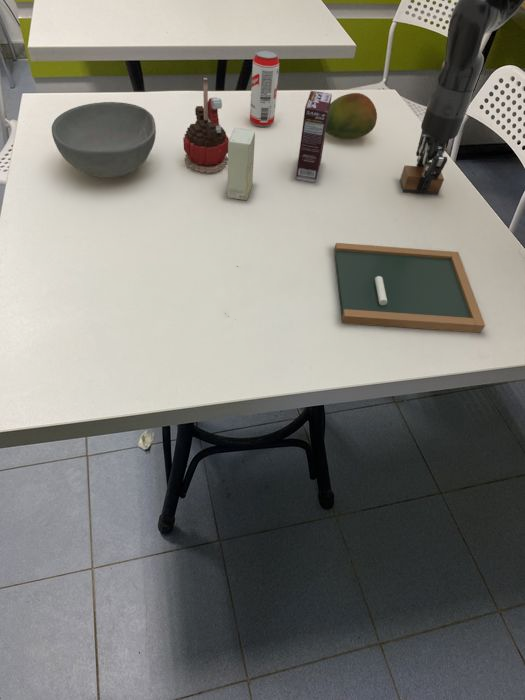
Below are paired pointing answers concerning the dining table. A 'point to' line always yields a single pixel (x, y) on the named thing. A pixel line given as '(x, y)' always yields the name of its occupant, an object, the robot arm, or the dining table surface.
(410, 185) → the eraser
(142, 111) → the bowl
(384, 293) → the chalk
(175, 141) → the dining table surface
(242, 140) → the cosmetic box
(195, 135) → the cake
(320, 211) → the dining table surface
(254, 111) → the beer can
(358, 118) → the fruit
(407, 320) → the slate board
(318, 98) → the supplement box
